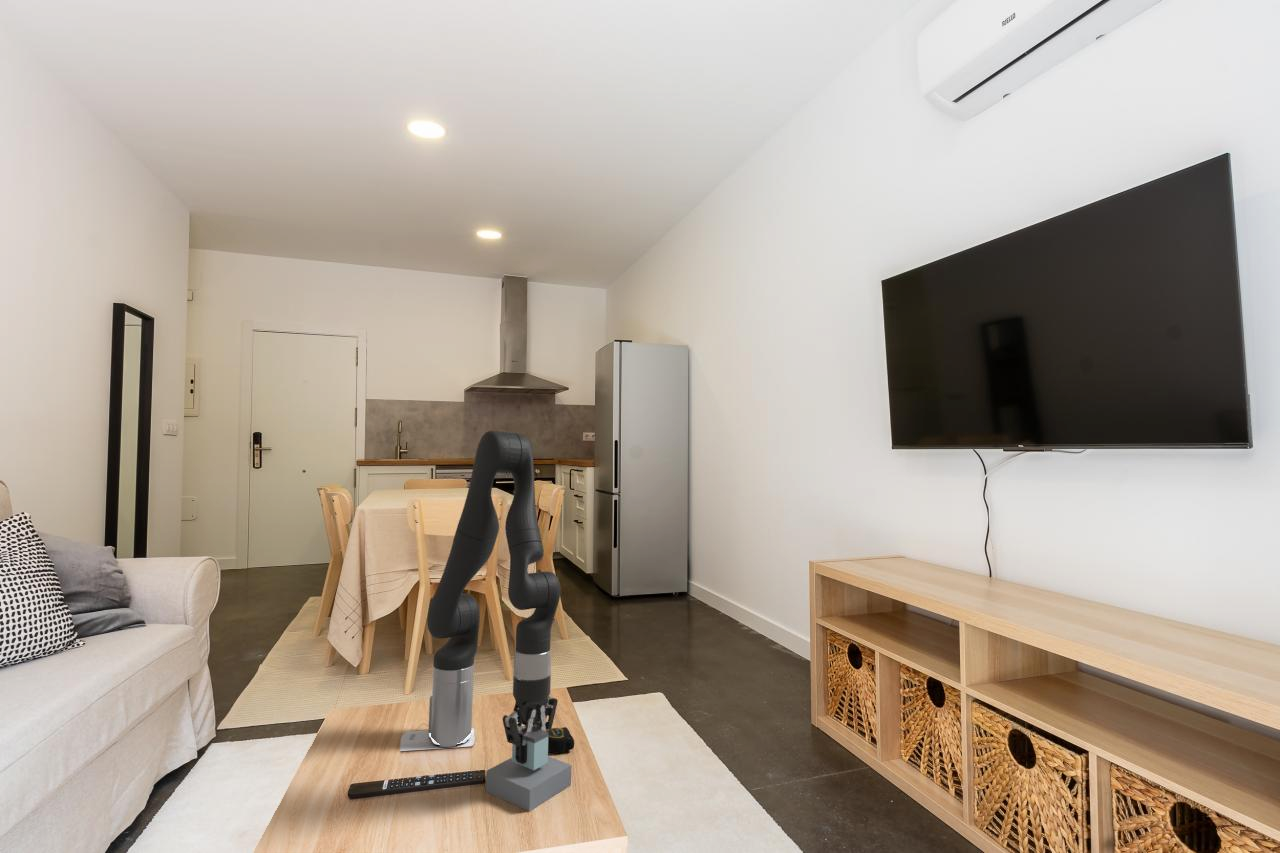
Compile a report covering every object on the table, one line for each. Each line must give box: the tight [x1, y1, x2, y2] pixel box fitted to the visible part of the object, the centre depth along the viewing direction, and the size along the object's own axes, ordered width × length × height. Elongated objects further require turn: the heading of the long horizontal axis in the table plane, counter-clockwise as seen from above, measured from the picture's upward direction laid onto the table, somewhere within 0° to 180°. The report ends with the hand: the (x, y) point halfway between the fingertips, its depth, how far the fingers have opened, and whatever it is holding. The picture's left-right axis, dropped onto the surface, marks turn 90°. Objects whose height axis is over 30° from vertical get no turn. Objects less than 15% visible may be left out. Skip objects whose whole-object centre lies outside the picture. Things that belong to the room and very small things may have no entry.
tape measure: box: [546, 726, 575, 754], centre depth 145 cm, size 7×7×4 cm
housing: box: [511, 725, 549, 770], centre depth 128 cm, size 6×4×6 cm, turn 56°
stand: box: [485, 755, 572, 812], centre depth 128 cm, size 12×12×4 cm
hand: (529, 757), depth 128 cm, fingers open, 4 cm apart
